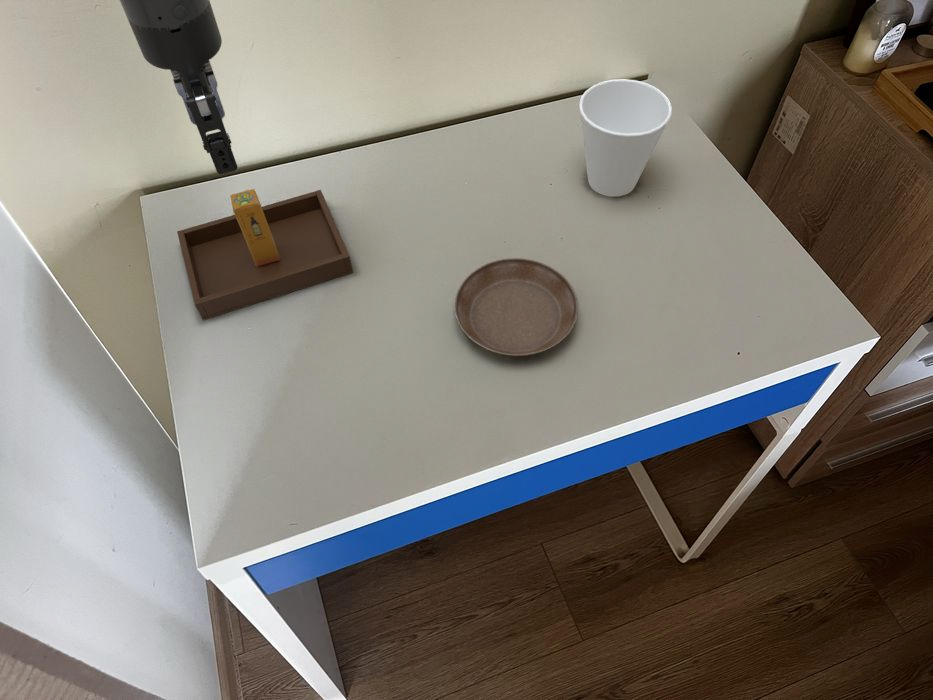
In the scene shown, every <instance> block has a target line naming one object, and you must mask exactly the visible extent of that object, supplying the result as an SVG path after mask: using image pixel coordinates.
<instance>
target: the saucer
mask: <svg viewBox="0 0 933 700" xmlns="http://www.w3.org/2000/svg"><path fill="white" fill-rule="evenodd" d="M578 313H579V303H578V298H577V294H576V291H575V289H574V288H573V286H572V283H570V281H569V280H568V279H567V278H566V277H565V275H563V274H562V273H560V272H559V271H558V270H556V269H555V268H553V267H552V266H550V265H547V264H546V263H543V262H540V261H537V260H534V259H528V258H523V257H522V258H520V257H519V258H518V257H512V258H511V257H510V258H502V259H497V260H494V261H491V262H488V263H486V264H483V265H481V266H480V267H478V268H476V269H475V270H473V271H472V272H471V273H470V274H468V275H467V277H466V278H465V279H464V280H463V281H462V283H461V284H460V286H459V288H458V290H457V292H456V295H455V298H454V314H455V318H456V322H457V323H458V325H459V327H460V329H461V330H462V331H463V333H464V334H465V335H466V336H467V338H469V339H470V340H471V341H472V342H474V343H475V344H476V345H477V346H479V347H481V348H483V349H484V350H487V351H489V352H492V353H496V354H499V355H503V356H508V357H509V356H510V357H526V356H532V355H535V354H540V353H542V352H544V351H547V350H549V349H551V348H553V347H555V346H557V345H558V344H559V343H560V342H562V341H563V340H564V339H565V338H566V337H567V336H568V335H569V334H570V332H571V331H572V330H573V328H574V326H575V324H576V322H577V318H578Z"/></svg>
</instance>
